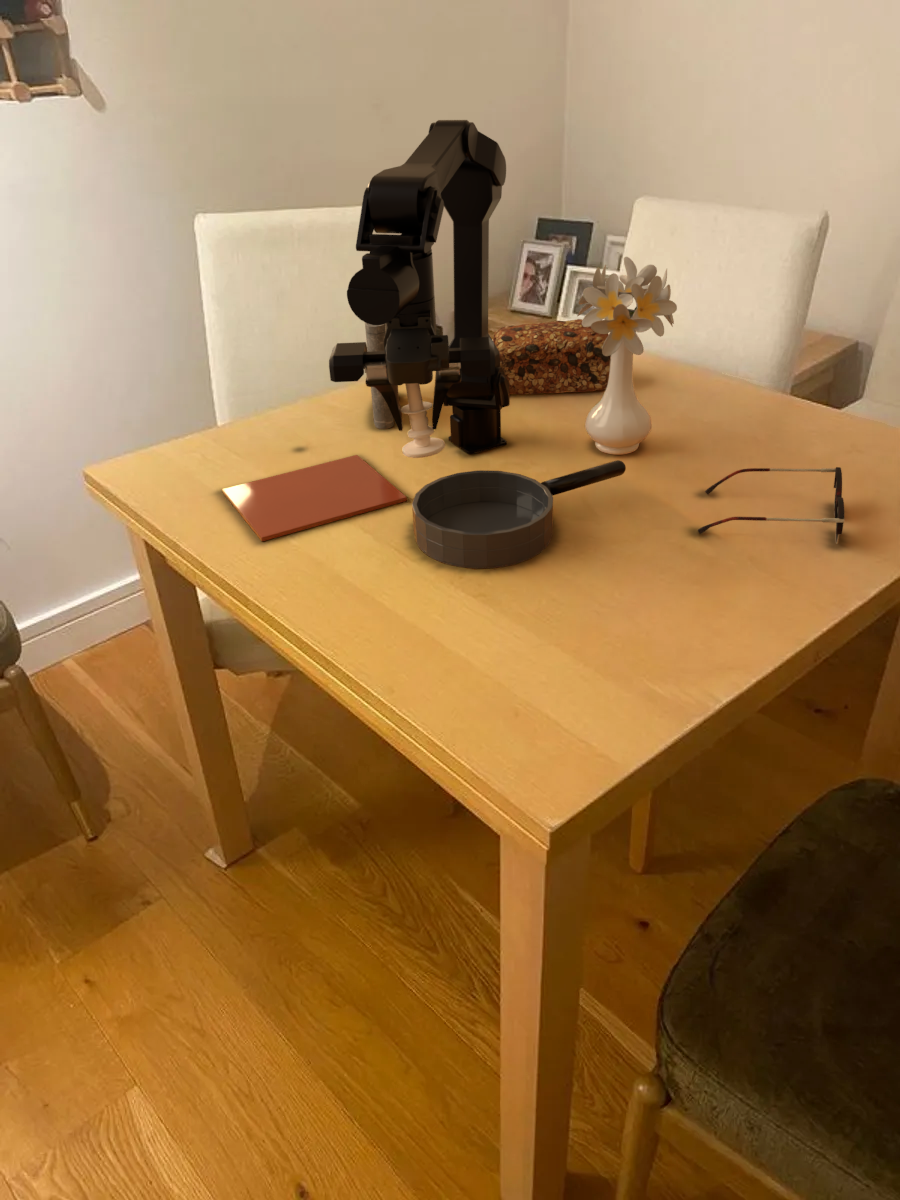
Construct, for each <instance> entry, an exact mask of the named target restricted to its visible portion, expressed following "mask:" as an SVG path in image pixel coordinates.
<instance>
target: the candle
mask: <svg viewBox="0 0 900 1200" xmlns="http://www.w3.org/2000/svg"><path fill="white" fill-rule="evenodd" d="M405 390H406V397H407V404H405V405H403V406H401V409H400V411H401V412H402V414H405V415H407V416H408V418H409V420H408V421H409V425H410V429H409V430H408V431H407V437H408V438H409V439H413V440H411V441H408V442H407V443H405V444H404V445H403V446H402V448H401V452H402V455H403V456H405V457H406V458H412V459H422V458H428V457H432V456H435V455H438V454H440V453H441V452H442V451H443V450H444V449H445V447H446V443H445V441H444V439H442V438H440V437H431V436H432V435H433V434H434V433H435V429H434V430H433V426H430V425H429V417H428V416H427V414H428V410H432V409H433V402H430V401H423V397H422V391H421V386H420V384H418V383H412V384H405Z"/></svg>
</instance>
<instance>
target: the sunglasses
mask: <svg viewBox="0 0 900 1200" xmlns="http://www.w3.org/2000/svg"><path fill="white" fill-rule="evenodd" d="M750 472H762V473H763V472H800V473H801V472H818V473H819V472H821V473H834V481H833V489H835V491H834V501H833V502H834V503H833V515H834V517H823V518H796V517H795V518H794V517H793V518H792V517H791V518H790V517H765V516H730V517H726V518H723V519H720V520H717V521H714V522H711V523H708V524H706V525H703V526H702V527H700V528H698V529H697V532H698V533H699V534H700V535H701V534H702V533H705V532H706V531H708V530H709V529H711V528H713V527H716V526H719V525H721V524H724V523H728V522H731V521H755V522H756V521H757V522H758V521H760V522H761V521H764V522H765V521H766V522H767V521H768V522H770V521H771V522H813V523H815V522H816V523H818V522H820V523H835V544H839V541H840V535H843V530H844V523H845V502H844V498H843V471H842V468H841V467H840V466H836V467H834V468H833V467H832V468H830V467H829V468H825V467H823V468H774V467H773V468H772V467H771V468H770V467H769V468H768V467H767V468H765V467H764V468H763V467H759V468H758V467H754V468H753V467H752V468H751V467H750V468H749V467H748V468H741V469H737V470H735V471H733V472H731V473H730V474H728V475H726V476H725V477H723V478H721V479H720V480H718V481H717V482H715V483H713V484H711V485H710V486H709V487H708V488H707V489H705V491H704V492H705V494H706V495H710V494H711V493H712V492H713V491H714V490H715V489H716V488H717V487H718V486H719V485H721V484H722V483H724V482H726V481H728V480H729V479H730V478H732V477H734V476H735V475H738V474H741V473H750Z"/></svg>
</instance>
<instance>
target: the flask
mask: <svg viewBox="0 0 900 1200" xmlns="http://www.w3.org/2000/svg"><path fill="white" fill-rule="evenodd" d="M364 328H365V338H366V339H365V340H366V345H367V352H372V351H384V338H385V334H386V329H385V324H382V325H371V324H368V323H365V322H364ZM397 389H398V390H399V385H397ZM370 392H371V393H370V394H371V404H372V405H371V406H372V416H373V424H374V427H375V428H376V429H378V430H388V429H390V428H393V427H394V426H395V424H394V423H395V421H394V418H393V416H392V414H391V412H390V409H389V407H388V405H387V403H386V401H385V399H384V398H383V396H382V395H381V393H380V392H379V391H378V390H377V389H376V388H375V387H370ZM399 394H400V393H398V395H399ZM399 396H400V395H399Z"/></svg>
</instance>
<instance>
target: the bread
mask: <svg viewBox="0 0 900 1200" xmlns="http://www.w3.org/2000/svg"><path fill="white" fill-rule="evenodd" d="M582 320H583V318H582V319H581V318H577V319H570V320H552V321H549V322H548V321H544V322H540V323H523V324H517V325H516V324H515V325H507V326H505V325H504V326H502V327H500V328H498V329H497V330H495V331H494V332H493V335H492V336H493V338H492V340H493V342H494V344H495V345H496V347H497V349H498V350H499V353H500V367H502V369H503V371H504V373H505V375H506V378H507V380H508V382H509V391H510V394H509V395H520V396H521V395H527V394H528V395H540V394H559V393H561V394H563V393H567V392H568V393H569V392H570V393H585V392H595V391H597V390H599V391H600V390H601V391H604V390H606V388H607V384H608V379H609V372H610V361H611V355H610V356H605V355H603V354H602V347H603V344H604V342H605V340H606V338H607V337H608V335H609V333H608V334H600V333H597V332H595V331H593V330H592V329H591V326H589V327H583V325H582Z"/></svg>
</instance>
